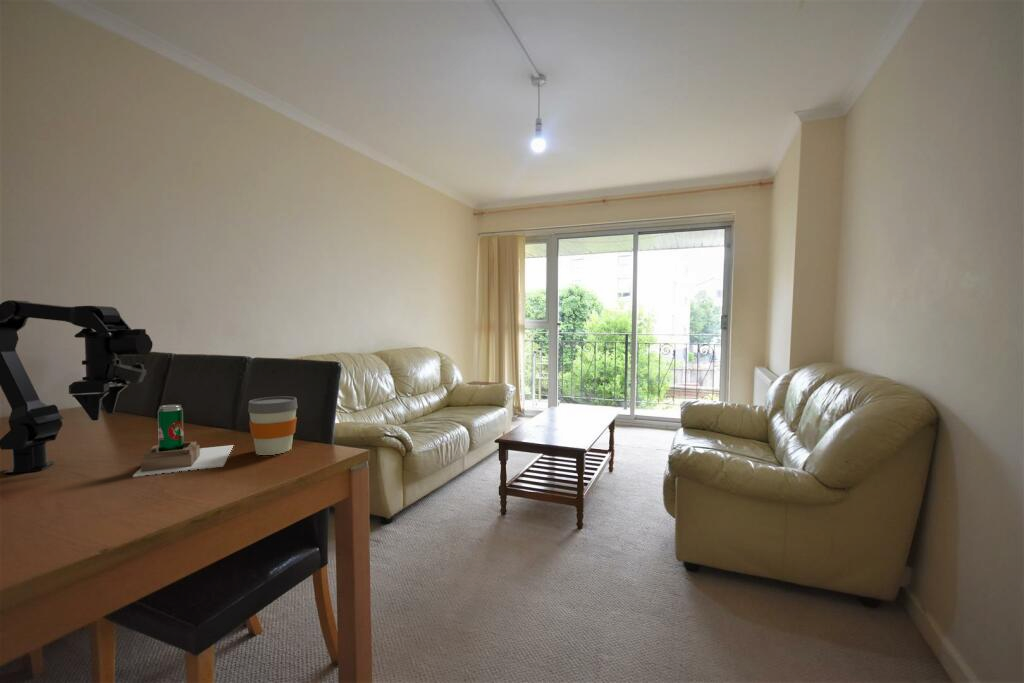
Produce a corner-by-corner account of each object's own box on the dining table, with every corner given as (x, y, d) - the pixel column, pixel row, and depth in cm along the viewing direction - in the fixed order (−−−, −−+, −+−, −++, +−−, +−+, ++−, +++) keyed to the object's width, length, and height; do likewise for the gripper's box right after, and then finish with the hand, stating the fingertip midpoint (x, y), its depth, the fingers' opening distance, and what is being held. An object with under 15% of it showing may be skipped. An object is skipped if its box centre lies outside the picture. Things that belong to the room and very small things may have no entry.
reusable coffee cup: (307, 449, 125) (306, 398, 124) (264, 460, 114) (263, 405, 114) (282, 443, 131) (281, 395, 131) (239, 453, 121) (238, 401, 120)
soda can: (159, 451, 111) (158, 405, 110) (184, 447, 114) (183, 403, 113) (157, 455, 107) (156, 408, 106) (183, 452, 110) (182, 406, 109)
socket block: (153, 462, 112) (153, 444, 112) (199, 457, 117) (199, 440, 117) (141, 474, 104) (140, 455, 103) (191, 468, 108) (191, 449, 108)
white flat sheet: (157, 454, 119) (157, 452, 119) (233, 446, 127) (233, 444, 127) (132, 477, 101) (132, 475, 101) (223, 466, 109) (223, 464, 109)
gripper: (129, 357, 103) (131, 421, 103) (153, 352, 119) (154, 407, 120) (66, 358, 98) (68, 425, 98) (100, 353, 114) (102, 411, 115)
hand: (103, 416), depth 108 cm, fingers open, 9 cm apart
